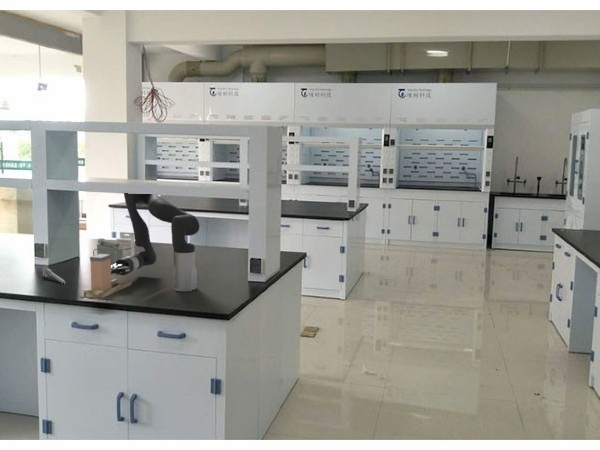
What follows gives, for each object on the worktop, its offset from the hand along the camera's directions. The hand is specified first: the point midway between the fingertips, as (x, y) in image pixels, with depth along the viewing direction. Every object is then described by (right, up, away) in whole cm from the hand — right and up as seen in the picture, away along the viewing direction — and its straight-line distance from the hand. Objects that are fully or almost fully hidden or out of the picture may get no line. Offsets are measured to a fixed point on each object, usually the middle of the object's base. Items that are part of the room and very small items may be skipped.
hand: (105, 273), depth 256 cm
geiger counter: (-17, -1, +55) cm, 57 cm away
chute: (0, -9, +3) cm, 9 cm away
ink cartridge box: (-13, +2, +73) cm, 74 cm away
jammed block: (-1, -8, -2) cm, 9 cm away
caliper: (-31, -6, +23) cm, 40 cm away
